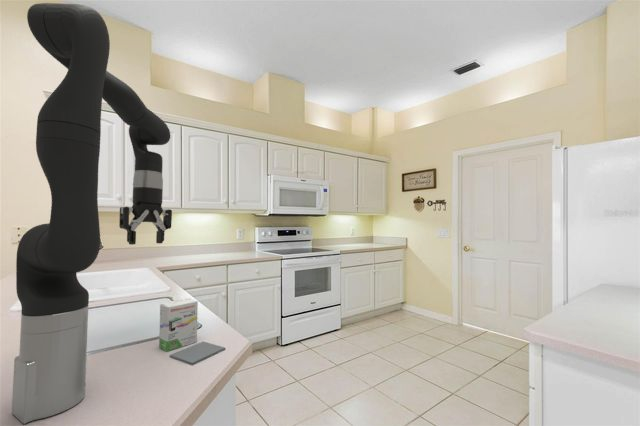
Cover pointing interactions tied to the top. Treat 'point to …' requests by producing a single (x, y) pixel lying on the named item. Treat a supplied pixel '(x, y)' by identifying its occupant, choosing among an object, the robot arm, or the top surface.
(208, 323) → the top surface
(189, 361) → the mat
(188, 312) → the ink box
